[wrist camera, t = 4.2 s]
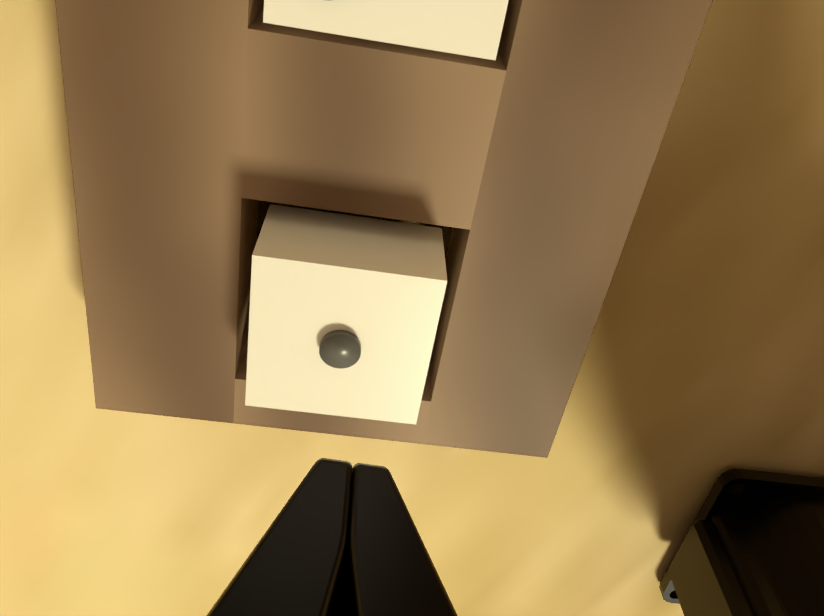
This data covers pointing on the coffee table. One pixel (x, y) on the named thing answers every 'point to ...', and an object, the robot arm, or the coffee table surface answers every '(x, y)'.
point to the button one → (343, 314)
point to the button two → (401, 22)
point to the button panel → (362, 192)
